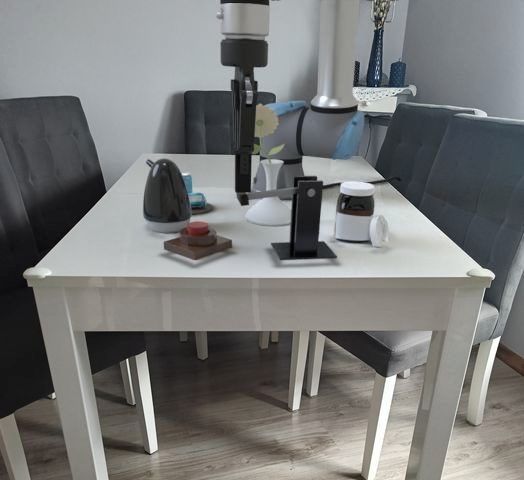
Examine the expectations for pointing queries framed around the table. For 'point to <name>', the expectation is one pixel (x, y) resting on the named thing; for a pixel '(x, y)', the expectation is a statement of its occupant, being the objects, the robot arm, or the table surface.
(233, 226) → the table surface
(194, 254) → the switch box
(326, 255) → the lever bracket
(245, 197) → the pivoting lever
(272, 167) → the flower in vase
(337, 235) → the spread jar
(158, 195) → the pump dispenser
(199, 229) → the red push button
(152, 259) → the table surface
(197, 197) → the teal cans on tray
